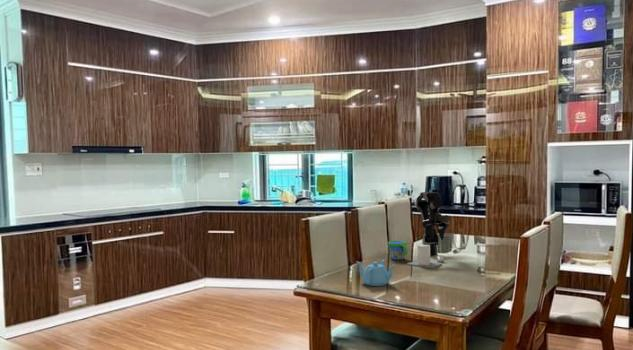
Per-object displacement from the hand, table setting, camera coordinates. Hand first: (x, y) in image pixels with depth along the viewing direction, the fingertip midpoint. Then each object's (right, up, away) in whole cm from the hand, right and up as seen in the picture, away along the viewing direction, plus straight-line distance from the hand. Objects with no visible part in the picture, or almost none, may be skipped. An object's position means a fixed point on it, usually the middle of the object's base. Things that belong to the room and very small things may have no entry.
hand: (437, 239), depth 263 cm
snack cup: (-21, -13, +8) cm, 27 cm away
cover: (-10, -12, -10) cm, 19 cm away
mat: (-10, -13, -10) cm, 19 cm away
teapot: (-41, -15, -44) cm, 62 cm away
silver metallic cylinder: (+1, -13, -4) cm, 13 cm away
